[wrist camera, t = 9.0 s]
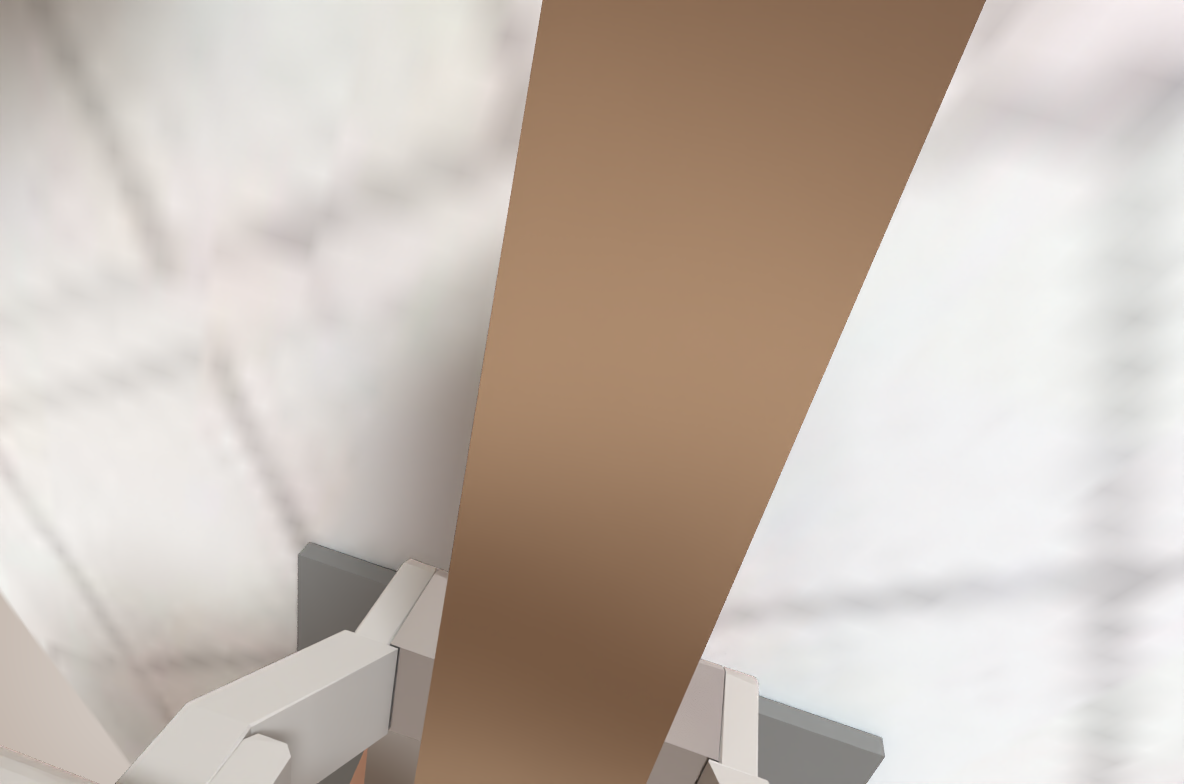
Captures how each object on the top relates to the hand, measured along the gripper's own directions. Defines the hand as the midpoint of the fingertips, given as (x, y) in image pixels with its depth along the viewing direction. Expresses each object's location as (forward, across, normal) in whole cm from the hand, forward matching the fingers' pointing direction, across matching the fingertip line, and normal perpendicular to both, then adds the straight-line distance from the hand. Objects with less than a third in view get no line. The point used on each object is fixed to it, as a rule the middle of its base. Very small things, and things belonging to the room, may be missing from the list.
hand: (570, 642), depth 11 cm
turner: (+2, 0, +1) cm, 2 cm away
